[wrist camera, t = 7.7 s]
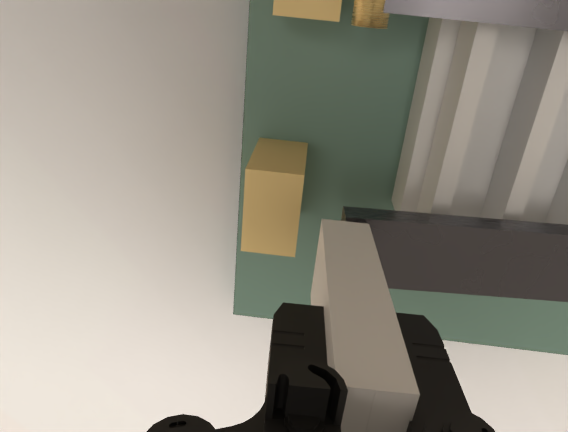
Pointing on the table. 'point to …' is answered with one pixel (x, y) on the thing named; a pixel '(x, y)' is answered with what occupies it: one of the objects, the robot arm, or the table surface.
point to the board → (398, 149)
